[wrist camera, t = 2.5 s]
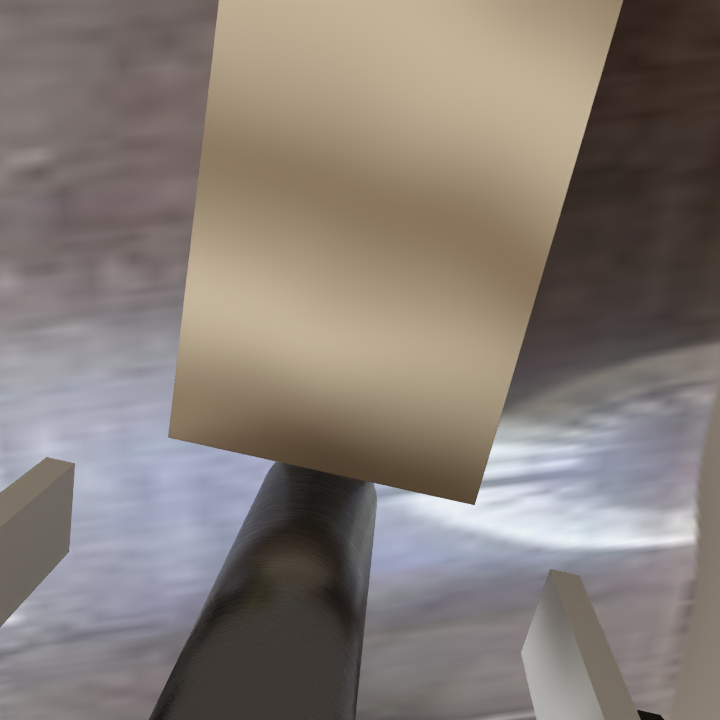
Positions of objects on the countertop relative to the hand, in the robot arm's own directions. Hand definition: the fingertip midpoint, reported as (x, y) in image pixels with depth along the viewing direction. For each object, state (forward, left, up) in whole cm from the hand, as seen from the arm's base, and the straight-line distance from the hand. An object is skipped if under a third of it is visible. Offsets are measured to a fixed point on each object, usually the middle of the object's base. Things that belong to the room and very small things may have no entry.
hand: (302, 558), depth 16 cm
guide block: (+8, 0, -12) cm, 14 cm away
